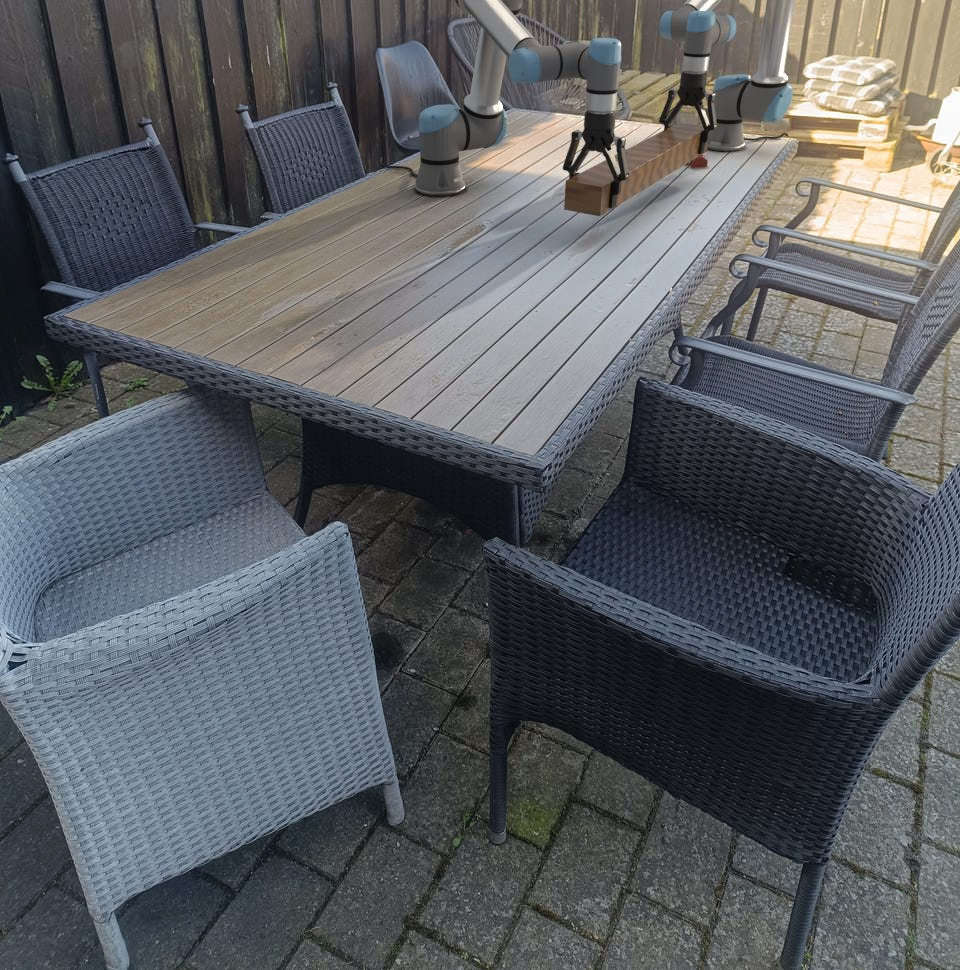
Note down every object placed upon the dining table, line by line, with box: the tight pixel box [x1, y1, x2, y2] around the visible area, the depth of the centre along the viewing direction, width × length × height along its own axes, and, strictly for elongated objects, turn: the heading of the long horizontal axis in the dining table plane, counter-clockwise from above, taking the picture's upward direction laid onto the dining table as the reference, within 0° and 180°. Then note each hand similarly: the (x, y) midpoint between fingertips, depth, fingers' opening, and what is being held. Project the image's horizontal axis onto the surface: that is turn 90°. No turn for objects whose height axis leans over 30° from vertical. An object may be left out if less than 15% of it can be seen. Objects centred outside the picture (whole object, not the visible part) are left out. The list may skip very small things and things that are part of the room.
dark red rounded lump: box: [686, 153, 709, 169], centre depth 279 cm, size 6×4×8 cm
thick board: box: [563, 122, 708, 217], centre depth 236 cm, size 75×10×7 cm, turn 147°
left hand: (593, 203), depth 216 cm, fingers closed on thick board, 10 cm apart
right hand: (684, 150), depth 259 cm, fingers closed on thick board, 10 cm apart
